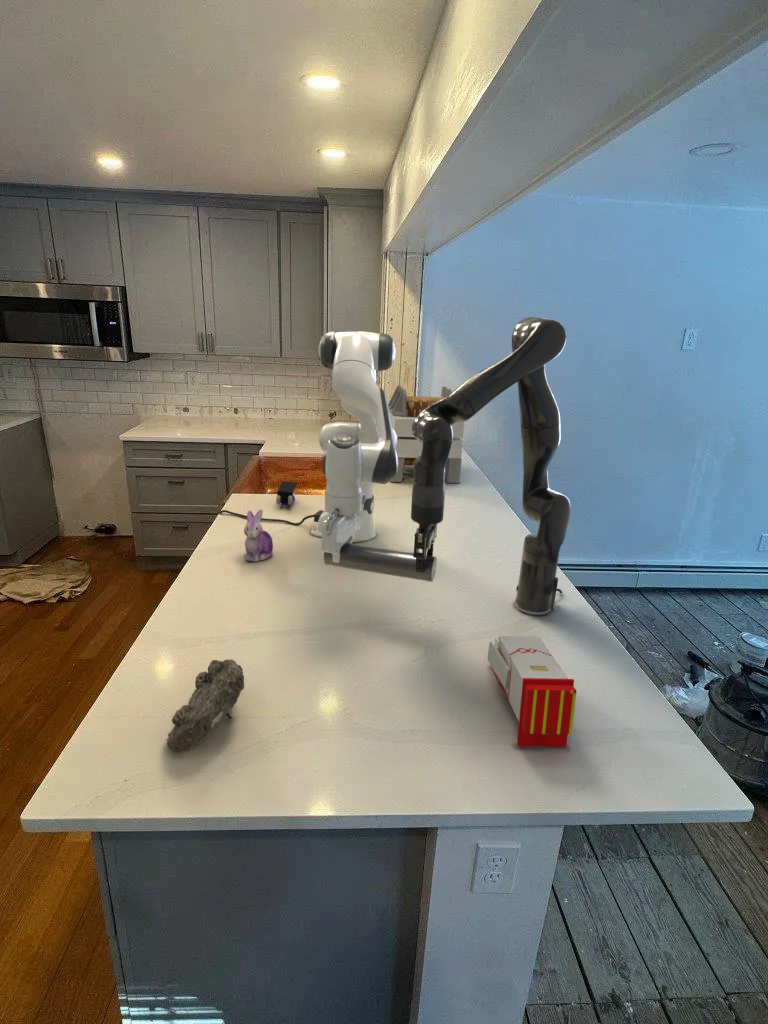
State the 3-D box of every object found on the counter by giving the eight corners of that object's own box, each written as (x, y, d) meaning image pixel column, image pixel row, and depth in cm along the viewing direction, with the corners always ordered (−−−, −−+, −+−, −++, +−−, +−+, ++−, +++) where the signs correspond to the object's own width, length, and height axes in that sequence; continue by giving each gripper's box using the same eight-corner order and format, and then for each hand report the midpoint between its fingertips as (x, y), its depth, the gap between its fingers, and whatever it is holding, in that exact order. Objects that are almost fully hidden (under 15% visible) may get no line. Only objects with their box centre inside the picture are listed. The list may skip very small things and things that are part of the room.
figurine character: (293, 513, 218) (297, 497, 231) (292, 495, 215) (297, 480, 228) (275, 513, 218) (281, 496, 231) (274, 495, 214) (280, 479, 228)
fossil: (192, 660, 117) (244, 628, 112) (224, 691, 120) (276, 661, 115) (142, 746, 98) (202, 712, 93) (182, 779, 101) (242, 748, 96)
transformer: (382, 463, 289) (386, 382, 275) (445, 464, 293) (451, 384, 279) (390, 482, 257) (394, 392, 243) (460, 483, 261) (468, 394, 247)
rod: (323, 568, 141) (323, 546, 139) (332, 559, 146) (332, 537, 144) (430, 586, 134) (432, 563, 132) (435, 575, 140) (437, 552, 137)
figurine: (248, 564, 171) (246, 518, 166) (239, 551, 179) (237, 507, 174) (278, 559, 175) (277, 514, 170) (269, 547, 183) (267, 503, 178)
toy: (536, 619, 129) (586, 686, 99) (531, 673, 131) (578, 754, 102) (483, 618, 128) (517, 685, 99) (479, 672, 131) (511, 753, 102)
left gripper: (340, 519, 127) (339, 575, 131) (368, 492, 145) (366, 542, 150) (314, 515, 128) (314, 570, 133) (344, 489, 147) (343, 538, 151)
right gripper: (437, 512, 123) (433, 579, 129) (449, 493, 136) (445, 554, 142) (404, 508, 125) (401, 574, 131) (419, 489, 138) (415, 550, 144)
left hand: (342, 555), depth 142 cm, fingers closed on rod, 6 cm apart
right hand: (424, 564), depth 136 cm, fingers open, 8 cm apart
